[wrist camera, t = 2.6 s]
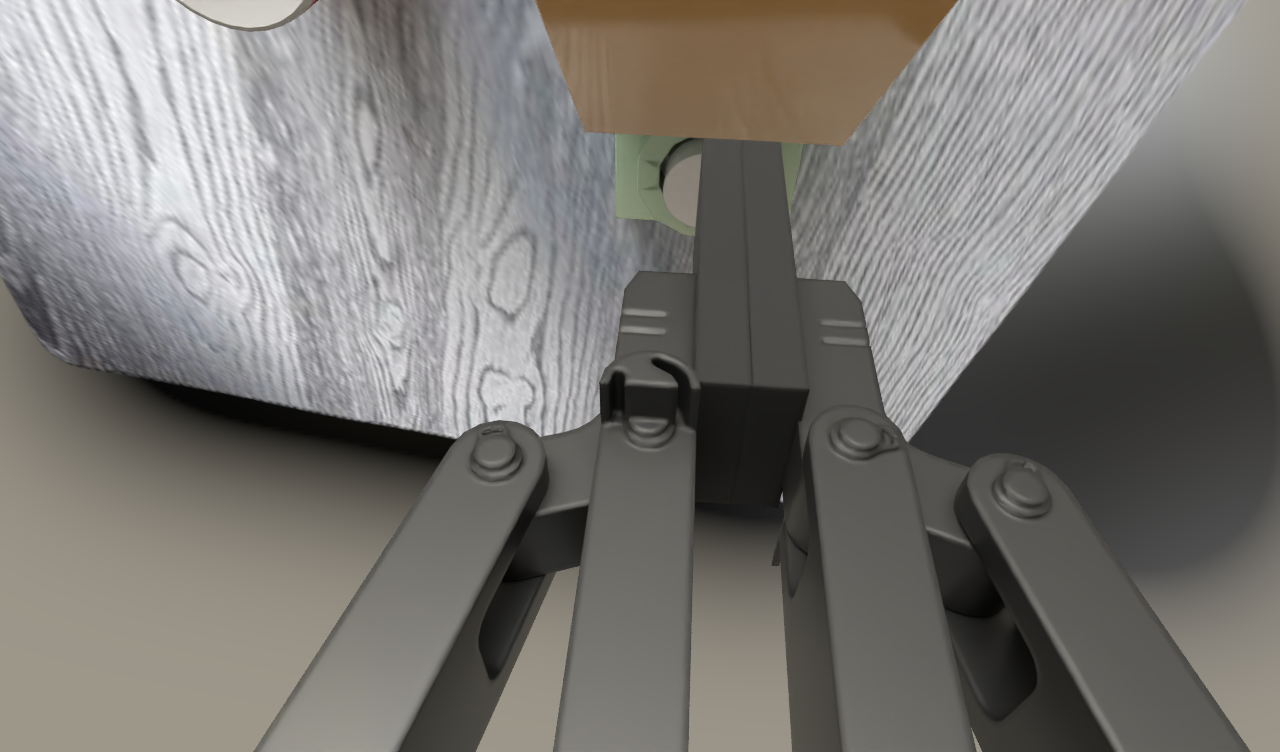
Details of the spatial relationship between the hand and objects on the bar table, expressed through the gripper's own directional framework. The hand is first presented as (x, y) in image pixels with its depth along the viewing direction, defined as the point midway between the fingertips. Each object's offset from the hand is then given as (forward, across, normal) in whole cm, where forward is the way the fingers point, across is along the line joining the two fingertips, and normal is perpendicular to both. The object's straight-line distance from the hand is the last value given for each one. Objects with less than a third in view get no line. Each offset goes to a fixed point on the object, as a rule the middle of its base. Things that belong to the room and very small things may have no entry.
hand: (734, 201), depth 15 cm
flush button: (+22, 0, -12) cm, 25 cm away
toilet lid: (+12, 0, -2) cm, 12 cm away
